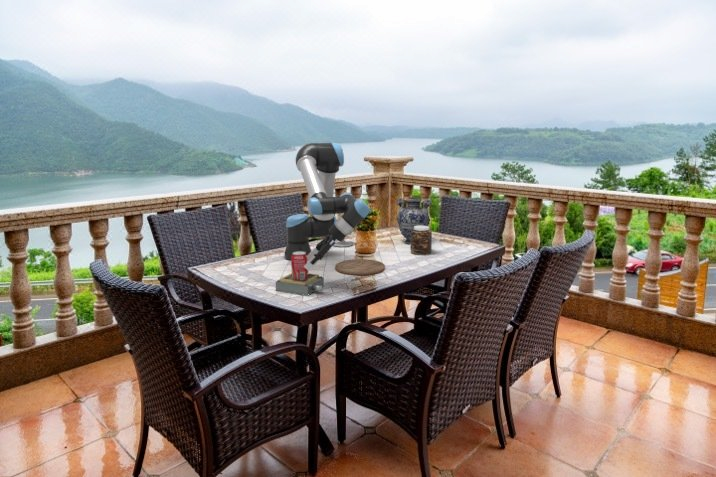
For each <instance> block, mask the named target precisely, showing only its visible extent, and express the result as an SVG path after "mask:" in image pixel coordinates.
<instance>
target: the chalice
mask: <svg viewBox="0 0 716 477" xmlns="http://www.w3.org/2000/svg"><path fill="white" fill-rule="evenodd" d="M338 219H339V218H336V220H338ZM354 230H355V228H354V229H353V231H354ZM352 233H353V232H351V231H350V233H349V234H348V235H350V234H352ZM348 235H347V234H346V237H347V236H348ZM333 246H334V247H339V248H340V247H341V248H342V247H343V248H344V247H345V248H346V247H352V246H353V243H352V242H350V241H346V240H345V238H344V239H343V240H342V241H341V242H340V241H335V244H334V245H333Z"/></svg>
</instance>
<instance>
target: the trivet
mask: <svg viewBox="0 0 716 477" xmlns="http://www.w3.org/2000/svg"><path fill="white" fill-rule="evenodd" d="M334 269H335V271H336V272H337V273H339V274H342V275H346V276H353V277H362V276H363V277H365V276H373V275H378V274H380V273H383V272H384V271H385V269H386V264H385V263H383V262H381V261H379V260H375V259H367V258H355V259H346V260H341V261H338V262H337V263H336V264H335V265H334Z"/></svg>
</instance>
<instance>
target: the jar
mask: <svg viewBox="0 0 716 477" xmlns="http://www.w3.org/2000/svg"><path fill="white" fill-rule="evenodd" d="M432 232H433V231H432V230H431V229H430V226H429V225H428V226H422V225H419V226H414V229H413V230H411V244H410V249H409V250H410V254H412V255H416V256H428V255H432V248H433V233H432Z"/></svg>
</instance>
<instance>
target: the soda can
mask: <svg viewBox="0 0 716 477" xmlns="http://www.w3.org/2000/svg"><path fill="white" fill-rule="evenodd" d="M290 262H291V263H290V264H291V273H292V279H294V280H295V281H304V280H306V279H307V278H308V273H309V271H308V270H307V269H306V268H305V267H304V266H305V265H306V264H307V263H308V259H307V255H306V252H303V251H297V252H293V255H292V257H291V260H290Z"/></svg>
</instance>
